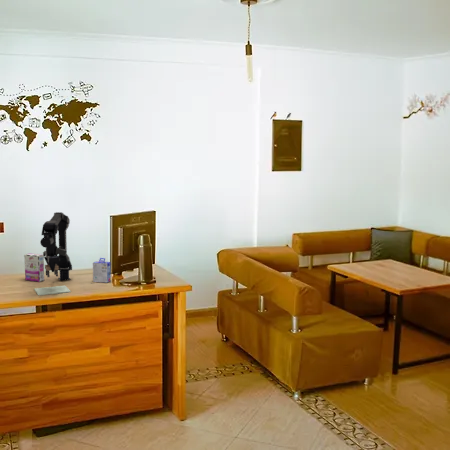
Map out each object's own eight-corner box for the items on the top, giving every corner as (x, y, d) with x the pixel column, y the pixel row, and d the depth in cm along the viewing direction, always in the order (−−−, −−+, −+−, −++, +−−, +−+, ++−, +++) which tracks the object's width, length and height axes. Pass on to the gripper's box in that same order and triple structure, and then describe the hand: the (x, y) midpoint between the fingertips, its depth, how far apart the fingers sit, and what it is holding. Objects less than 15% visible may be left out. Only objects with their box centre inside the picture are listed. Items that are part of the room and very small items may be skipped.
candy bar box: (44, 280, 365) (44, 254, 363) (39, 282, 361) (38, 256, 358) (30, 278, 370) (29, 252, 367) (24, 280, 365) (23, 254, 362)
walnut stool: (45, 275, 342) (44, 264, 341) (56, 273, 345) (56, 263, 344) (47, 277, 336) (46, 267, 335) (58, 276, 339) (58, 266, 338)
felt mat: (34, 289, 344) (34, 288, 344) (65, 286, 352) (65, 285, 352) (38, 295, 332) (38, 294, 332) (70, 292, 340) (70, 291, 340)
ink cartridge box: (111, 280, 367) (110, 258, 365) (107, 283, 361) (107, 259, 359) (96, 279, 369) (96, 257, 366) (92, 282, 363) (92, 259, 361)
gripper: (68, 245, 333) (69, 272, 335) (61, 240, 349) (62, 266, 352) (48, 247, 328) (49, 274, 330) (42, 241, 344) (43, 267, 347)
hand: (51, 270), depth 340 cm, fingers closed on walnut stool, 6 cm apart
